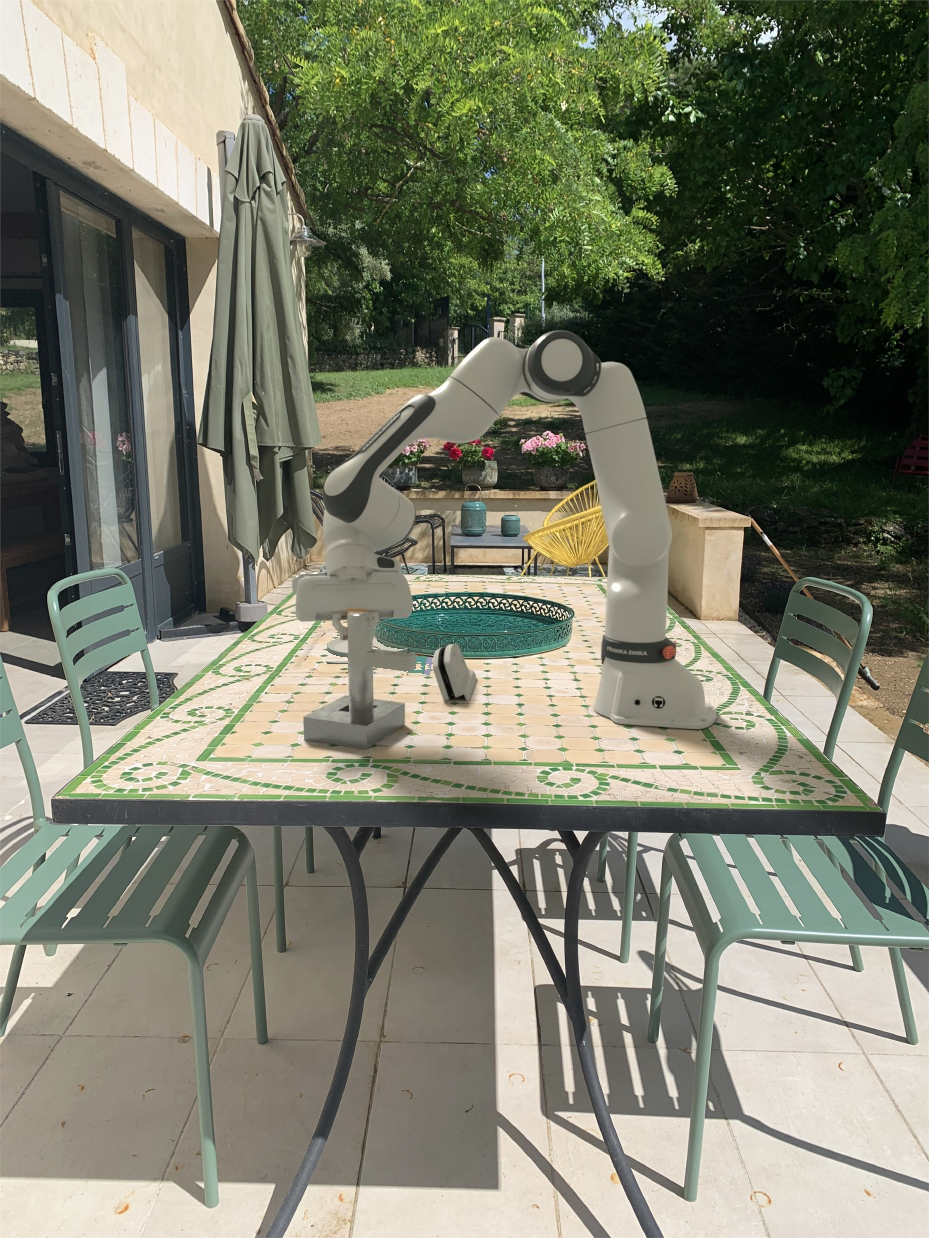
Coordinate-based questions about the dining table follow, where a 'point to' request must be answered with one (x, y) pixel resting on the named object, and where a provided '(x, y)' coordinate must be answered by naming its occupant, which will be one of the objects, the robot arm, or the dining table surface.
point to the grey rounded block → (453, 673)
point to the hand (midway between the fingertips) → (357, 638)
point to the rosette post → (360, 694)
